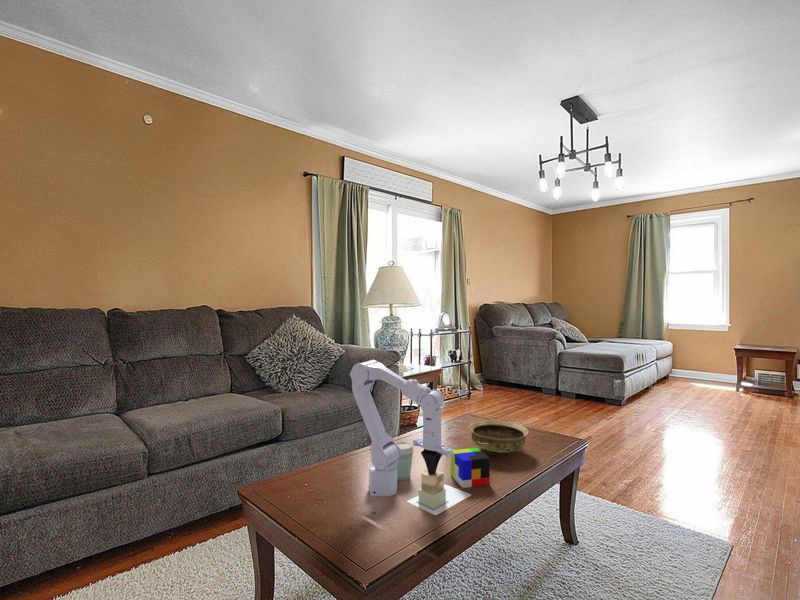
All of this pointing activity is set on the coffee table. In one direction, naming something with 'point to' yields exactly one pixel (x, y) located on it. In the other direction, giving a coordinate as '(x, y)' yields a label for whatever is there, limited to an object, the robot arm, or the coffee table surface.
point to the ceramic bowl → (498, 436)
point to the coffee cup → (404, 460)
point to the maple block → (432, 482)
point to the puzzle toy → (470, 467)
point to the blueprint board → (451, 499)
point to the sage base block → (432, 498)
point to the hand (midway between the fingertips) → (432, 473)
